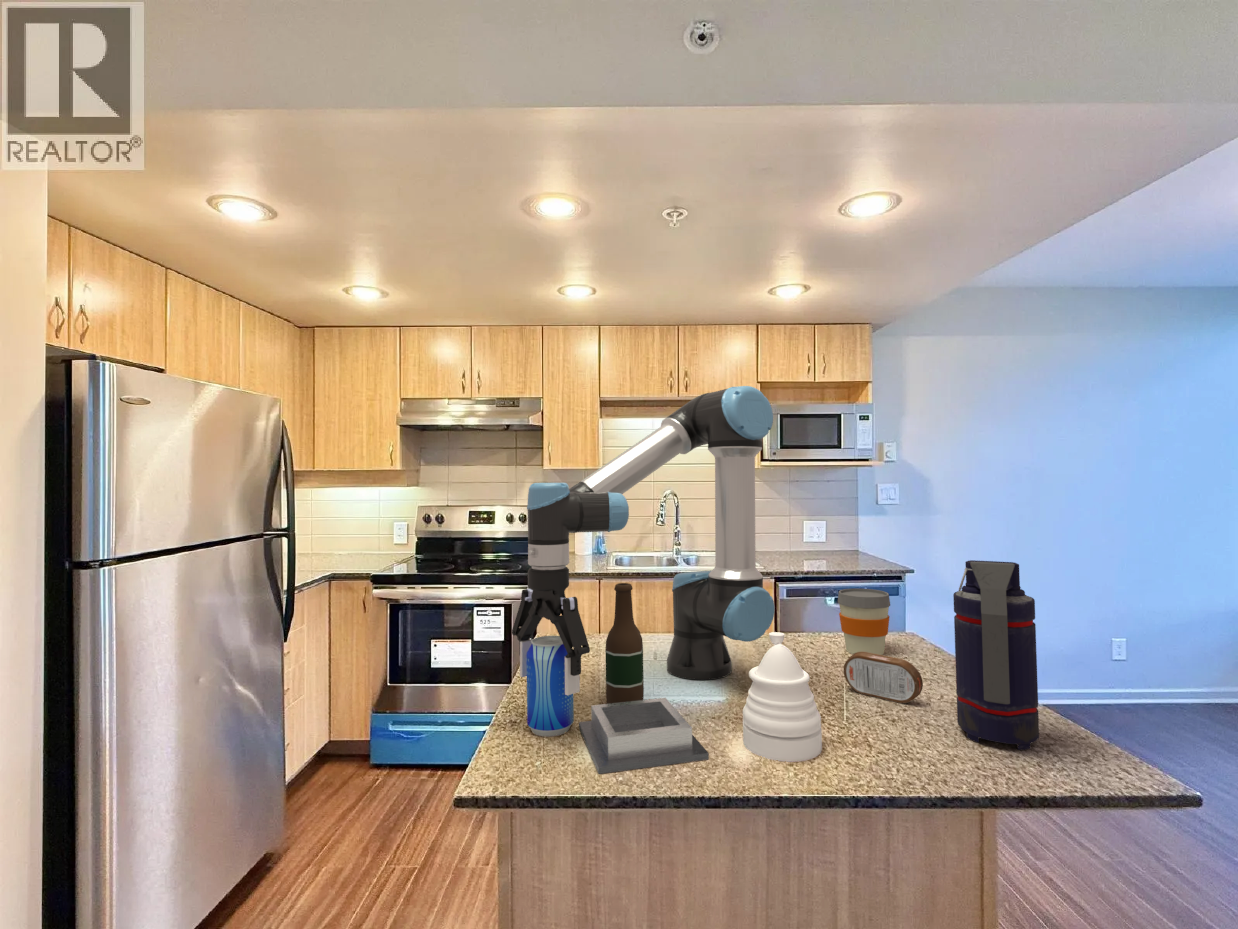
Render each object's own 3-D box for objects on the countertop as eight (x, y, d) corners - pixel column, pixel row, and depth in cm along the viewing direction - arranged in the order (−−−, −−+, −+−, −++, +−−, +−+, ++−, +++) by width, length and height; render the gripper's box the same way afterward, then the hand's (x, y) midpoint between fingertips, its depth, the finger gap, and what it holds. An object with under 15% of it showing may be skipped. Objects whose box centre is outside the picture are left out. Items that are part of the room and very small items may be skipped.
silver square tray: (672, 717, 114) (672, 693, 114) (708, 759, 97) (708, 731, 97) (578, 727, 110) (578, 702, 110) (598, 774, 92) (598, 744, 92)
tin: (924, 704, 118) (922, 661, 119) (918, 709, 116) (917, 665, 116) (848, 687, 129) (847, 647, 129) (842, 691, 126) (841, 650, 127)
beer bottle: (631, 714, 116) (629, 588, 116) (598, 706, 120) (596, 585, 121) (651, 701, 122) (649, 582, 123) (619, 694, 127) (617, 579, 127)
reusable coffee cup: (834, 644, 162) (832, 588, 162) (883, 645, 160) (881, 588, 160) (845, 658, 149) (843, 597, 150) (898, 659, 148) (896, 597, 148)
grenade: (958, 717, 111) (953, 555, 112) (1036, 730, 105) (1030, 558, 106) (956, 747, 100) (950, 564, 100) (1044, 763, 93) (1037, 569, 94)
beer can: (566, 740, 105) (564, 647, 105) (520, 736, 106) (519, 645, 107) (579, 721, 113) (577, 635, 113) (536, 718, 115) (535, 633, 115)
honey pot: (737, 728, 108) (735, 628, 109) (809, 728, 108) (806, 627, 108) (750, 762, 96) (748, 647, 96) (832, 762, 95) (829, 647, 96)
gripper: (494, 562, 117) (493, 673, 116) (576, 576, 99) (576, 707, 98) (526, 558, 122) (526, 664, 121) (609, 571, 104) (610, 696, 103)
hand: (548, 684), depth 110 cm, fingers open, 13 cm apart
